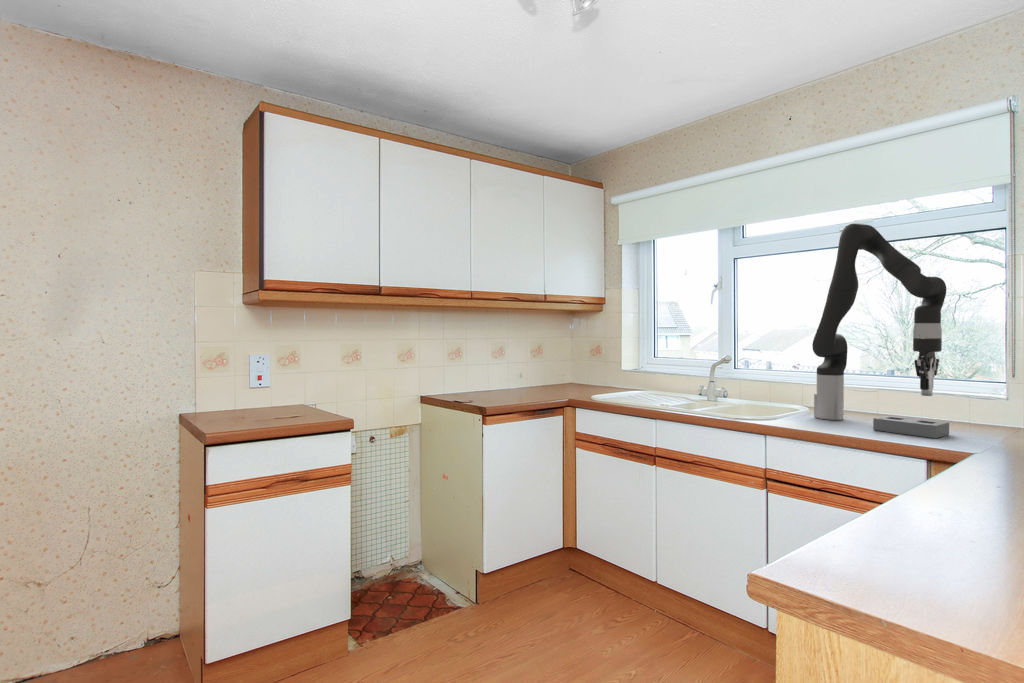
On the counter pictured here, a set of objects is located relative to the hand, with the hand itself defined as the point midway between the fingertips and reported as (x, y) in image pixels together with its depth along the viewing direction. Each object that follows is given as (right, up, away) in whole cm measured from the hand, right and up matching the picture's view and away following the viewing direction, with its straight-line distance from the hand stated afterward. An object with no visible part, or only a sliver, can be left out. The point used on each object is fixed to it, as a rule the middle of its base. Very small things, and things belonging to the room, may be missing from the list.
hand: (926, 389), depth 179 cm
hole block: (-2, -15, +4) cm, 16 cm away
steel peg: (0, -2, 0) cm, 2 cm away
